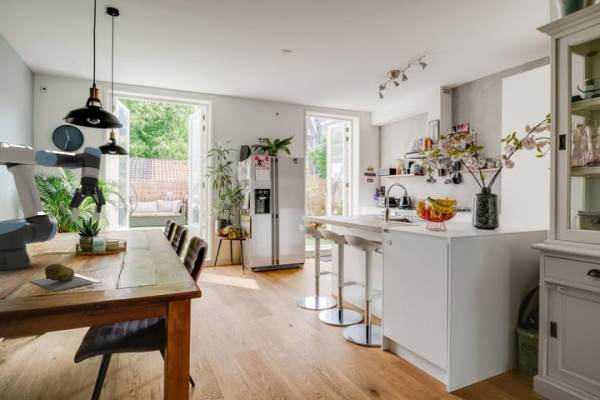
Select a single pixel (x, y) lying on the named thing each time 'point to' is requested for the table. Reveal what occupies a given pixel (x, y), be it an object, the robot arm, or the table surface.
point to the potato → (59, 272)
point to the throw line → (86, 278)
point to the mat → (60, 283)
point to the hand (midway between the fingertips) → (85, 220)
